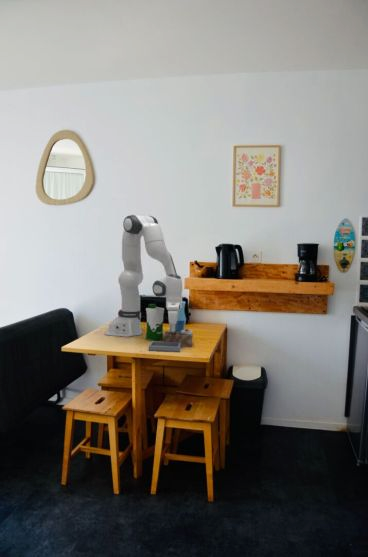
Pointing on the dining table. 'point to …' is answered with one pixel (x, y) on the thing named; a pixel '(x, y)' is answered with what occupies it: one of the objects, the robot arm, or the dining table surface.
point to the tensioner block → (179, 337)
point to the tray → (165, 346)
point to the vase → (180, 319)
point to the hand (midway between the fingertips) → (173, 329)
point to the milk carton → (154, 322)
